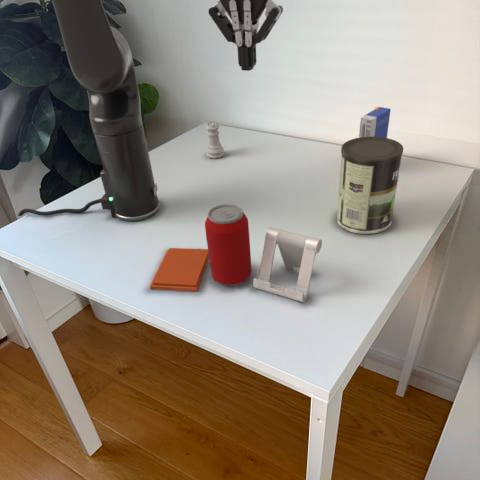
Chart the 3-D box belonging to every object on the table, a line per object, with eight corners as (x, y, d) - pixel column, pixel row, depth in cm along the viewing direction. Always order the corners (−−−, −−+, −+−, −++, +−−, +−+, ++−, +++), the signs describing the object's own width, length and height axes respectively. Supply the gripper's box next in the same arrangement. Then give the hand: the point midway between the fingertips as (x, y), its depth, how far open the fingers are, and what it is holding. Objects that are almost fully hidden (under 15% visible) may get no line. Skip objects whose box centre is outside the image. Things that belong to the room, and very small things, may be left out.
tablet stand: (253, 290, 77) (250, 246, 72) (276, 264, 82) (275, 221, 77) (302, 305, 74) (303, 259, 68) (322, 277, 79) (325, 233, 73)
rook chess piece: (228, 153, 119) (225, 120, 114) (218, 160, 117) (214, 127, 111) (213, 150, 121) (209, 118, 116) (203, 157, 119) (199, 124, 113)
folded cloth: (150, 289, 80) (149, 283, 79) (168, 252, 88) (167, 246, 87) (197, 291, 78) (196, 285, 77) (211, 253, 86) (210, 248, 85)
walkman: (373, 158, 111) (379, 104, 103) (383, 161, 110) (391, 107, 102) (354, 171, 107) (359, 116, 99) (365, 174, 106) (371, 118, 98)
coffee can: (391, 207, 94) (402, 135, 85) (392, 236, 86) (405, 160, 77) (337, 206, 96) (342, 135, 87) (334, 233, 88) (339, 159, 79)
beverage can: (234, 260, 84) (228, 197, 76) (260, 276, 80) (256, 211, 72) (203, 276, 81) (194, 213, 73) (229, 294, 77) (221, 228, 69)
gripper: (192, -51, 73) (204, 73, 84) (273, -55, 68) (275, 77, 80) (214, -56, 78) (223, 62, 89) (291, -60, 73) (290, 65, 85)
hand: (247, 69), depth 84 cm, fingers closed
